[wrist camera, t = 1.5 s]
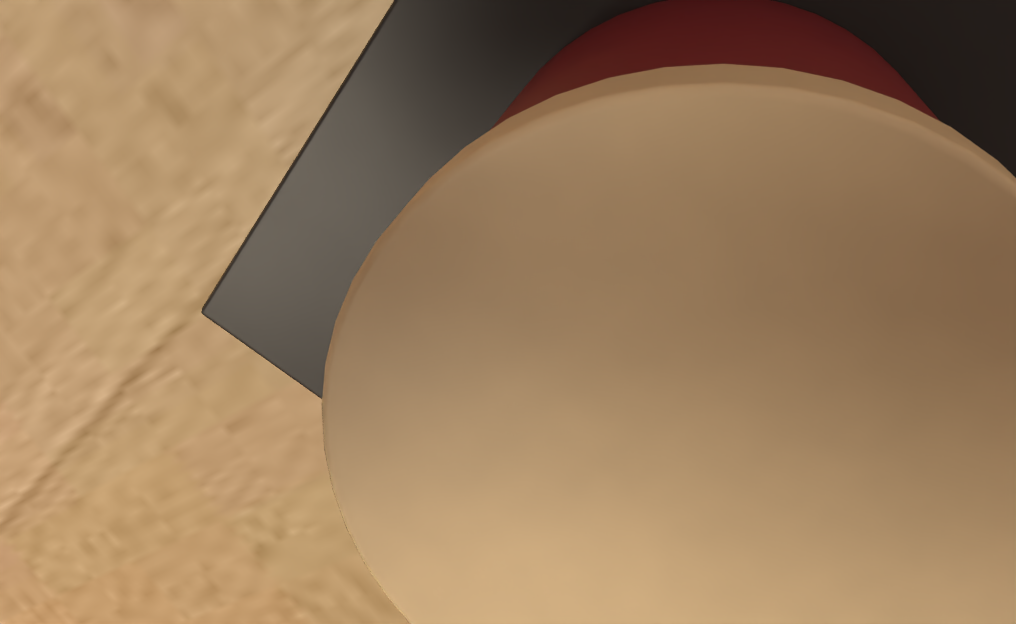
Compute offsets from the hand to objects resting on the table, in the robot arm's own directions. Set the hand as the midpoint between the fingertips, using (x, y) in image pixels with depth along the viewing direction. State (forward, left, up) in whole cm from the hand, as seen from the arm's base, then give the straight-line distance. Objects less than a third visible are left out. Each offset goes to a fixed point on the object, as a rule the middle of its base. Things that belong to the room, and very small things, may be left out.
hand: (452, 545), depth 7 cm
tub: (-1, -1, -7) cm, 7 cm away
